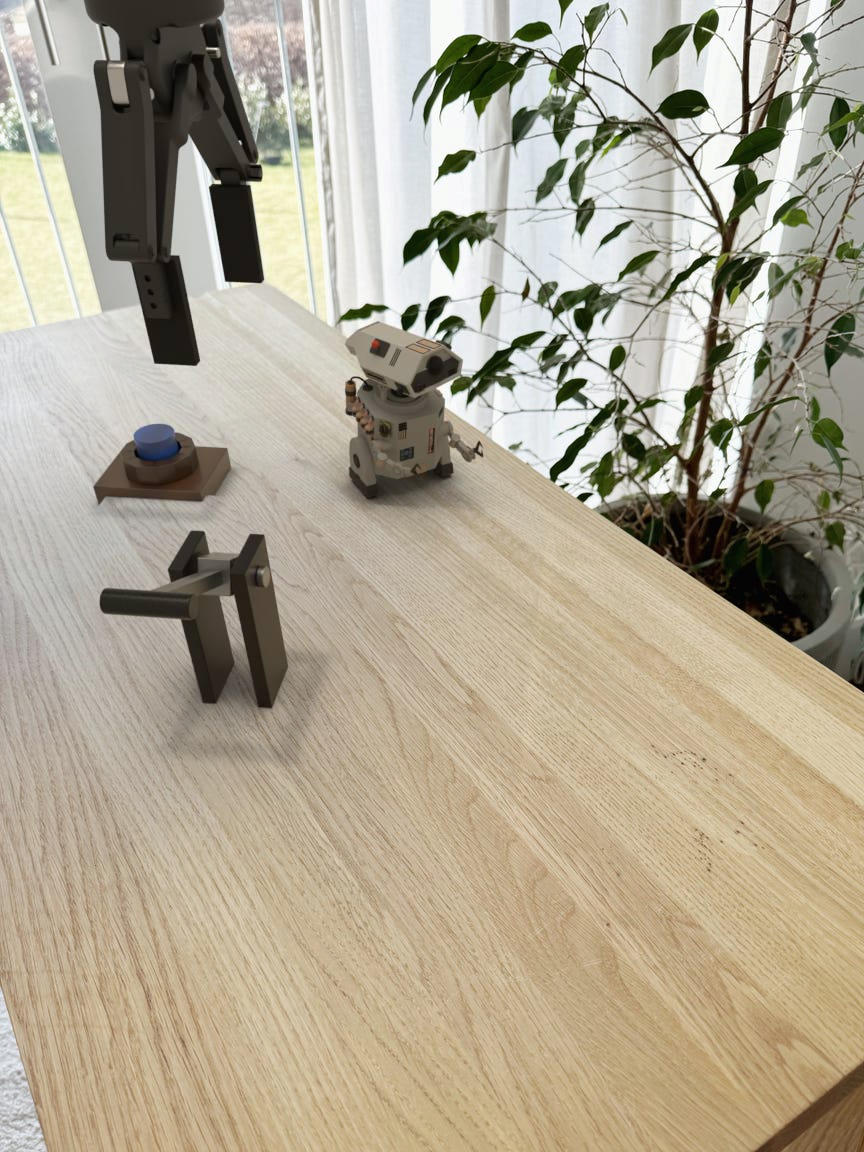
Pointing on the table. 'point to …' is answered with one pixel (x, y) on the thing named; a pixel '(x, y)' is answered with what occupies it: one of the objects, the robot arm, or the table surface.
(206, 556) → the lever
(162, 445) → the button
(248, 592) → the lever bracket
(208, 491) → the switch block
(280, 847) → the table surface
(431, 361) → the figurine
